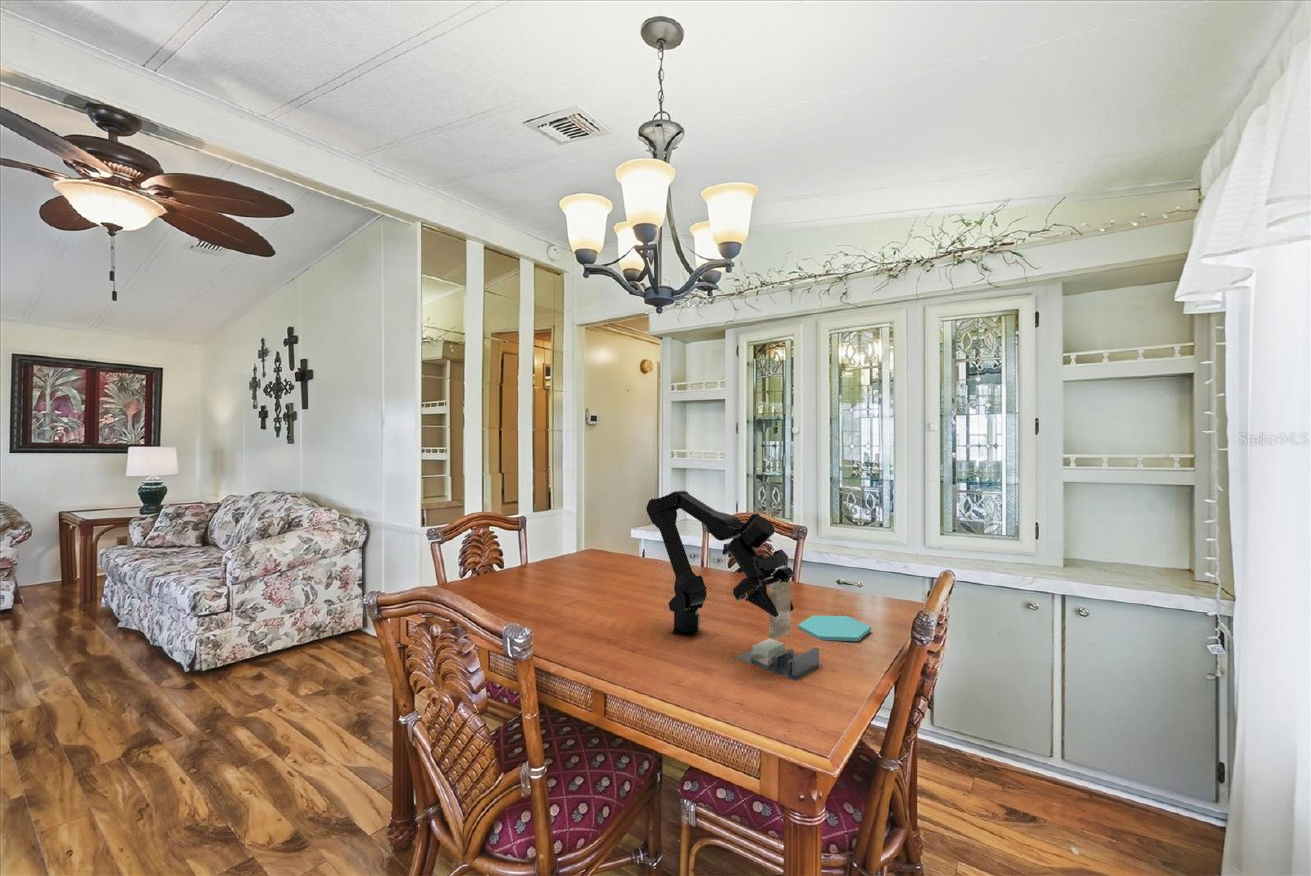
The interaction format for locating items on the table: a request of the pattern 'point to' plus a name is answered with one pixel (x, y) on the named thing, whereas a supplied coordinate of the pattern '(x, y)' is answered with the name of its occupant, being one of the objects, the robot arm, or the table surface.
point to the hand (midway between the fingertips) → (784, 613)
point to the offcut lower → (764, 658)
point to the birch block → (780, 610)
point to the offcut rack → (788, 663)
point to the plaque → (835, 628)
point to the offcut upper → (768, 647)
